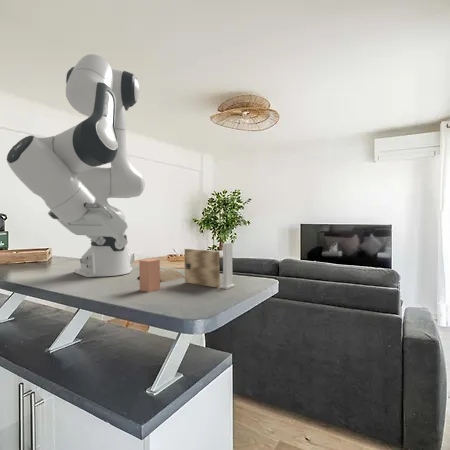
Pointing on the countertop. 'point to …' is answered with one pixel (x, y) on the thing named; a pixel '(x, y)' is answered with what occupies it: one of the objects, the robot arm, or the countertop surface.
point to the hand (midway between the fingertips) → (113, 243)
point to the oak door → (202, 267)
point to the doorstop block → (149, 275)
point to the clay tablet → (169, 275)
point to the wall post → (227, 266)
